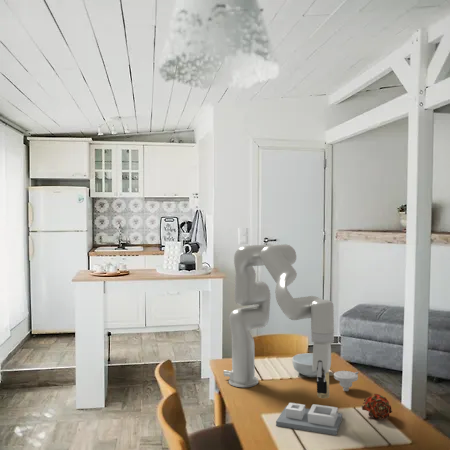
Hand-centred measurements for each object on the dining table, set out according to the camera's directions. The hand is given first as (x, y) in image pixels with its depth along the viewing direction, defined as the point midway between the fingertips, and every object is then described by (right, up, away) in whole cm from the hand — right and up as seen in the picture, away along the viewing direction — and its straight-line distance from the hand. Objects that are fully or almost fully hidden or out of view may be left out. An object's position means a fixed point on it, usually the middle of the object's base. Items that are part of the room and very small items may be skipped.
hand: (323, 390), depth 161 cm
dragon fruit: (+20, -11, +6) cm, 24 cm away
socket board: (-4, -12, +2) cm, 13 cm away
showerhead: (+16, -11, +31) cm, 36 cm away
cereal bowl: (+5, -11, +50) cm, 51 cm away
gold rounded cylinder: (0, -2, 0) cm, 2 cm away
